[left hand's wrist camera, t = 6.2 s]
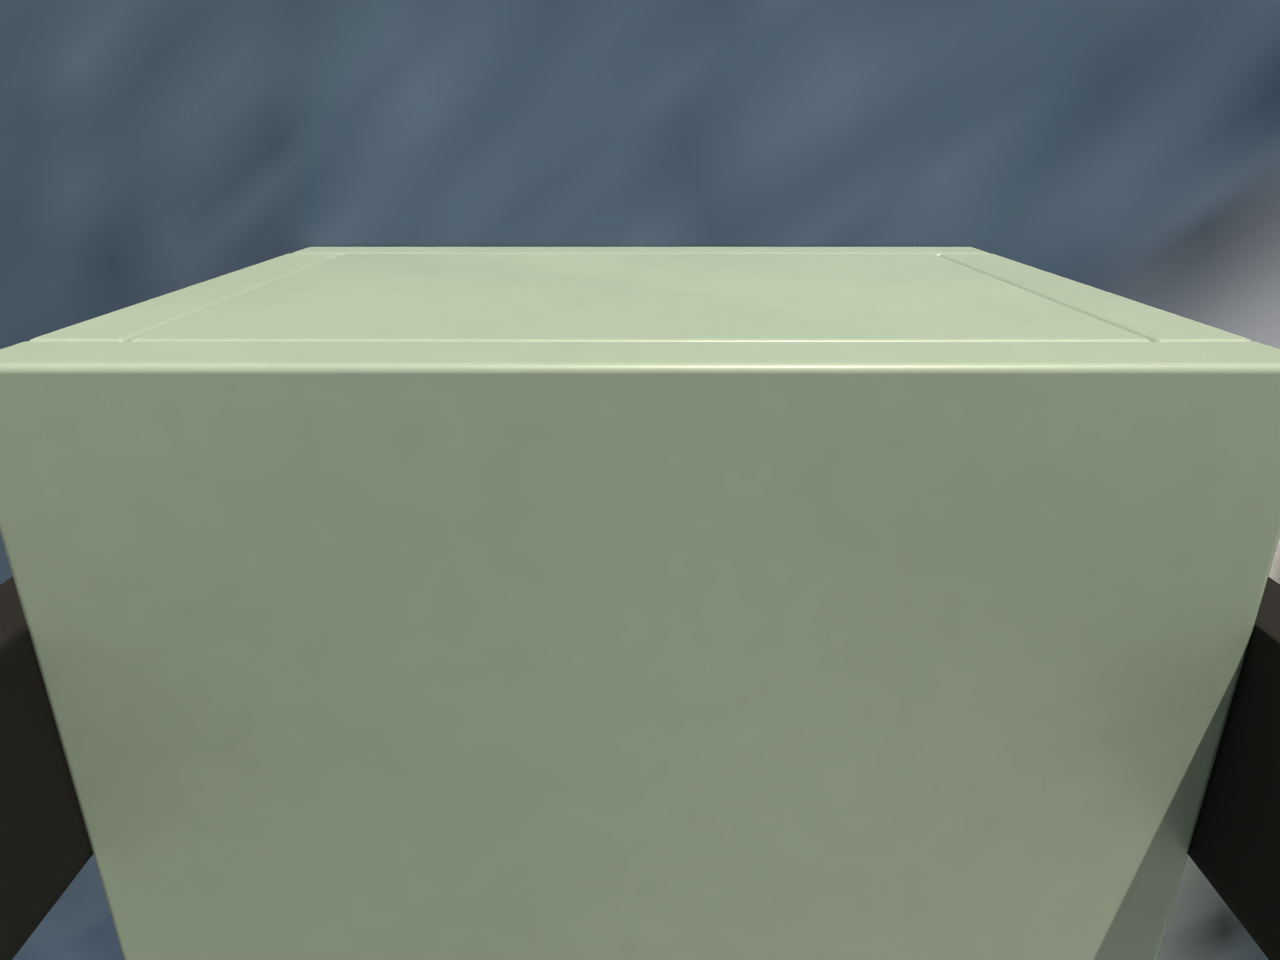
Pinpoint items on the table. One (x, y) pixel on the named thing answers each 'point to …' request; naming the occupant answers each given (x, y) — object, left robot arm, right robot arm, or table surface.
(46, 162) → the table surface
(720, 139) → the table surface
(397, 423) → the cabinet
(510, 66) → the table surface
